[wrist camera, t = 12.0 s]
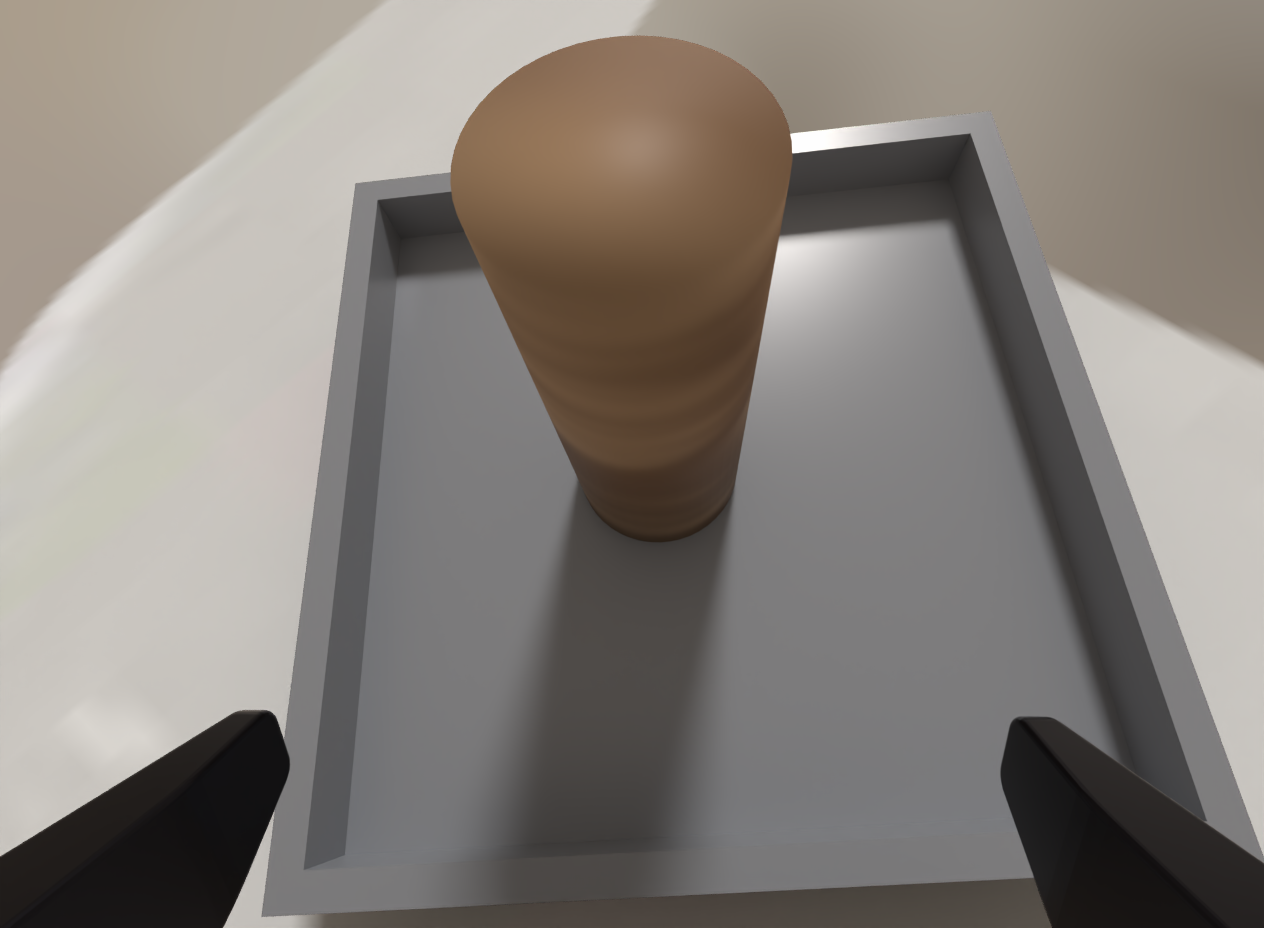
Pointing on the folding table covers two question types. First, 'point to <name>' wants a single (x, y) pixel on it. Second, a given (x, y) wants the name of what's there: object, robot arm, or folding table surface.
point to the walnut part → (633, 260)
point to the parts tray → (725, 576)
